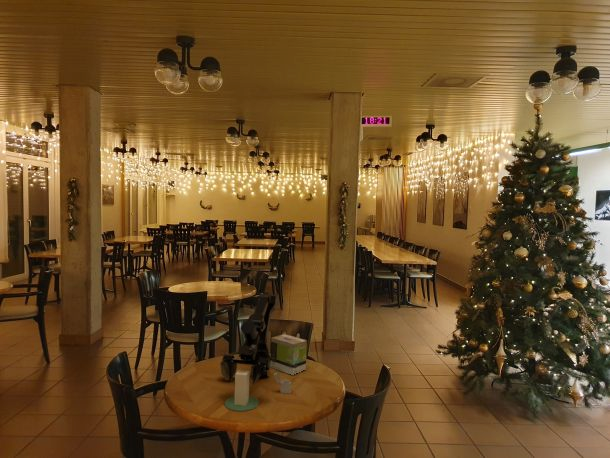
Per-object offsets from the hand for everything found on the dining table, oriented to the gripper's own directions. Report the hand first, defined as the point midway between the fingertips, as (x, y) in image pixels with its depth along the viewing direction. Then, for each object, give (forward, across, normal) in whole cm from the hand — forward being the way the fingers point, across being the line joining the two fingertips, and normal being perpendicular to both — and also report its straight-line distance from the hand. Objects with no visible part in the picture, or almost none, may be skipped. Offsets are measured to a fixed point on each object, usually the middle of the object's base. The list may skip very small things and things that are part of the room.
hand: (241, 382), depth 167 cm
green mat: (+5, 0, +7) cm, 9 cm away
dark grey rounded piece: (-9, -12, +22) cm, 27 cm away
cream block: (+5, 0, +6) cm, 8 cm away
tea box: (-23, +11, +35) cm, 43 cm away
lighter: (-4, +13, +17) cm, 22 cm away
